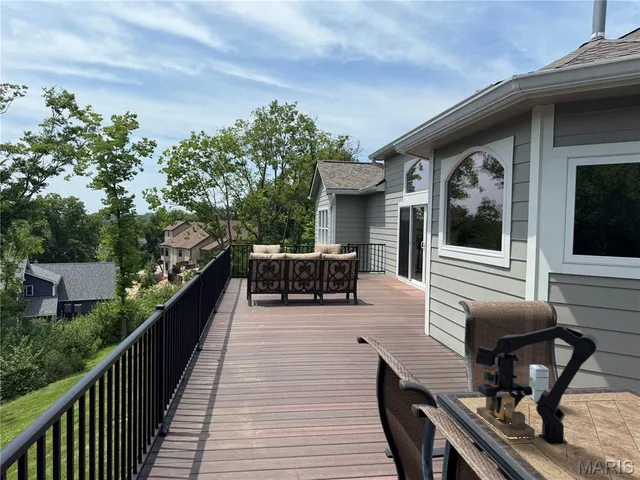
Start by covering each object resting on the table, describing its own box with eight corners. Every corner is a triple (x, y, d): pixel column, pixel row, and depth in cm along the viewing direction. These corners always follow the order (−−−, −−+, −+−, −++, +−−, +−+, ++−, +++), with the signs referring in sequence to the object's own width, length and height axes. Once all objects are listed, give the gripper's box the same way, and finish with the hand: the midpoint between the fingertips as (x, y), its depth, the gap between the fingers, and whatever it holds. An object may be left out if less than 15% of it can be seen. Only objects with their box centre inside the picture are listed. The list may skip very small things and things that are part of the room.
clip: (514, 418, 156) (514, 398, 156) (501, 419, 155) (501, 399, 155) (507, 414, 160) (508, 394, 160) (494, 415, 159) (495, 394, 159)
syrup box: (548, 403, 181) (549, 368, 181) (534, 402, 181) (535, 368, 181) (541, 397, 187) (543, 364, 187) (528, 397, 187) (529, 364, 187)
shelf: (534, 438, 149) (535, 415, 149) (508, 439, 147) (509, 416, 147) (499, 413, 169) (500, 393, 168) (476, 415, 167) (477, 394, 167)
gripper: (514, 363, 167) (513, 402, 167) (471, 364, 164) (469, 405, 164) (534, 372, 156) (532, 415, 157) (487, 374, 153) (486, 417, 153)
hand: (504, 412), depth 158 cm, fingers closed on clip, 5 cm apart
